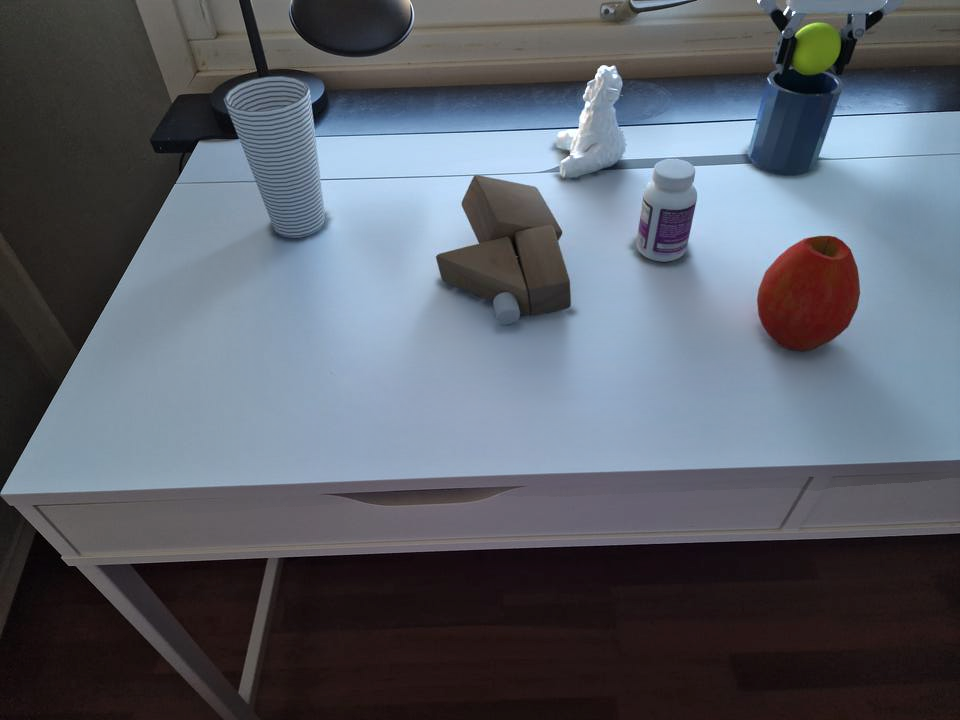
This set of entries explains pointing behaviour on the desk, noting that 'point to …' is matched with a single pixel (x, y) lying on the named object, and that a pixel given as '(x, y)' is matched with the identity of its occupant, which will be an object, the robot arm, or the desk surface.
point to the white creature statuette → (595, 128)
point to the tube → (793, 121)
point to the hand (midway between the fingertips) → (808, 68)
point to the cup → (280, 150)
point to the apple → (809, 293)
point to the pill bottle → (667, 211)
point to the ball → (816, 48)
